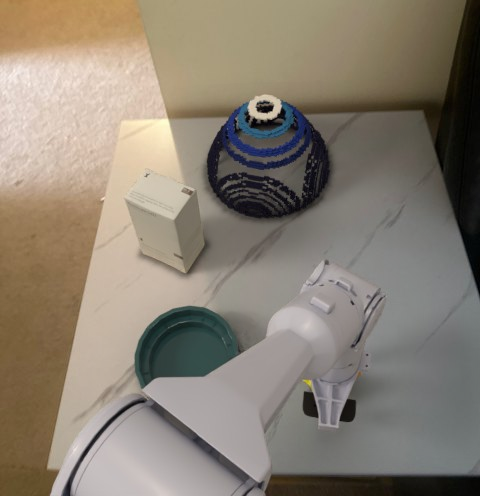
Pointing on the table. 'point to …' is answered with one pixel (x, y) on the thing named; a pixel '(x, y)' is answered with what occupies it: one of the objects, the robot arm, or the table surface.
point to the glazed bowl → (184, 345)
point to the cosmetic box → (166, 219)
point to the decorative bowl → (277, 112)
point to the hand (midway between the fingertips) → (328, 382)
